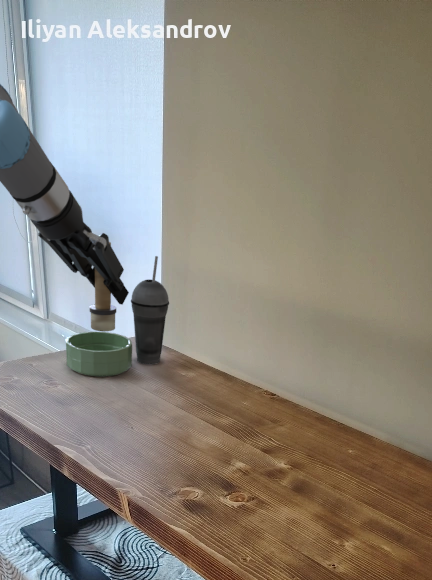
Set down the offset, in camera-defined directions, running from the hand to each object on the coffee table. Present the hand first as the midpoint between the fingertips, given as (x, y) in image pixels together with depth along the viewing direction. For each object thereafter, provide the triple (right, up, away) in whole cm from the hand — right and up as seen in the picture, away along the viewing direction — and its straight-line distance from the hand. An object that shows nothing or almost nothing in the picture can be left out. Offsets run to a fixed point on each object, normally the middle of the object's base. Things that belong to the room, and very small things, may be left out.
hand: (116, 296), depth 115 cm
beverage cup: (+5, -10, +9) cm, 14 cm away
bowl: (-4, -12, +3) cm, 13 cm away
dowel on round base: (-2, -6, 0) cm, 6 cm away
